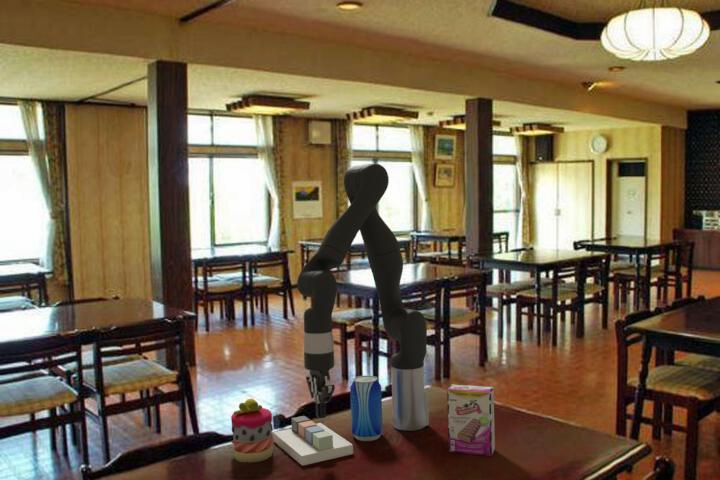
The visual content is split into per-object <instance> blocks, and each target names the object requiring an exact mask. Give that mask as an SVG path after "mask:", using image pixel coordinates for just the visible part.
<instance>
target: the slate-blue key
mask: <svg viewBox="0 0 720 480" xmlns="http://www.w3.org/2000/svg"><path fill="white" fill-rule="evenodd" d="M323 431H325V430H324V429H323V428H321V427H320V426H314V427H309V428H305V435H306V442H307V443H308V444H310V445H313V433H318V432H323Z"/></svg>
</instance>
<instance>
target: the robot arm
mask: <svg viewBox="0 0 720 480" xmlns="http://www.w3.org/2000/svg"><path fill="white" fill-rule="evenodd" d="M389 178H390V177H389V174H388V171H387V170H386V168H385V167H384V166H383V165H381V164H380V163H364V164H357V165H352V166H350V167H348V168H347V169H346V171H345V172H344V175H343V186H344V190H345V194H346V196H347V199H348V201H349V204H350V205H349V206H348V207H347V209H345V211H344V212H343V213H342V214H341V215H340V216H339V217H338V218H337V219H336V220H335V221H334V222H333V223H332V224H331V226H330V227H329V229H328V230H327V231H326V234H325V235H324V237H323V239H322V241H321V243H320V246H319V247H318V250H317V251H316V252H315V253H314V255H313V256H312V257H311V258H310V259H309V260H308V261H307V263H306V264H305V265H304V266H303V268H302V269H301V271H300V272H299V275H298V277H297V281H296V288H297V290H298V293H300V295H301V296H303V297H306V298H312V299H313V304H312V307H308V308H306V309H305V310H304V313H303V330H304V334H303V360H304V361H303V362H304V363H303V364H304V368H305V370H308V371H309V375H307V376H305V380H306V383H307V387H308V390H309V394H310V397H311V398H312V399H313V402H314V403H315V417H317V418H318V419H323V418H326V417H327V403H329V402H331V400H332V397H333V394H334V391H335V389H336V386H335V384H331V383H330V382H331V375H330V370H331V369H333V368H334V367H335V347H334V346H335V343H334V341H335V340H334V335H333V312H334V311H333V310H334V308H335V302H336V297H337V294H338V282H337V278H336V277H335V275H334V274H333V273H332V272H331V270H334V269H337V268H339V267H341V266H342V265H343V262H344V261H345V259H346V257H347V254H348V252H349V250H350V248H351V246H352V244H353V242H354V240H355V238H356V237H357V235H358V233H359V232H360V235H361V238H362V241H363V245H364V248H365V253H366V257H367V262H368V263H369V267H370V271H371V274H372V277H373V281H374V286H375V288H376V293H377V295H378V301H379V307H380V313H381V318H382V324H383V327H384V331H385V333H386V334H387V336H388V337H389V338H391V339H392V340H394V341H398V342H400V345H399V346H400V347H399V352H396V353H394V354H393V355H391V357H390V369H391V370H390V372H391V373H390V374H391V376H390V377H391V394H392V395H391V398H392V399H391V400H392V401H391V402H392V403H391V404H392V426H393V428H395V429H397V430H399V431H406V432H407V431H408V432H409V431H419V430H422V429H424V428H425V427H426V426H429V424H430V421H429V420H430V419H429V418H430V417H429V395H428V391H426V389H425V358H426V355H427V343H428V342H427V336H428V335H427V334H428V333H427V329H428V327H427V321H426V318H425V316H424V314H423V313H422V312H421V311H419V310H415V309H410V308H406V307H405V305H404V302H403V299H402V295H401V291H400V288H401V287H400V283H401V279H402V275H403V269H404V259H403V256H402V251H401V248H400V244H399V241H398V238H397V237H396V235H395V234H394V232H393V231H392V229H390V227H389V226H388V225H387V223H386V222H385V221H384V220H383V218H382V217H381V215H380V214H379V211H378V209H377V208H376V207H377V205H378V203H379V202H380V200H381V199H382V197H383V196H384V195H385V193H386V191H387V189H388V186H389V181H390V180H389Z"/></svg>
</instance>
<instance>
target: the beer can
mask: <svg viewBox="0 0 720 480" xmlns="http://www.w3.org/2000/svg"><path fill="white" fill-rule="evenodd" d="M352 381H353V382H352V383H351V385H350V387H349V388H350V389H349V390H350V391H349V392H350V417H351V418H350V419H351V420H350V421H351V433H352V435H353V436H354V438H355V439H356V440H358V441H361V442H372V441H376V440H378V439H379V438H381V435H382V434H383V431H384V430H383V429H384V428H383V426H384V425H383V403H382V402H383V401H382V385H381V383H380V382H379V380H378V377H377V376H374V375H359V376H355V377H354V378H353V379H352Z"/></svg>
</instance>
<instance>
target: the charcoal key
mask: <svg viewBox="0 0 720 480" xmlns="http://www.w3.org/2000/svg"><path fill="white" fill-rule="evenodd" d="M306 421H311V419H310V418H309V417H307V416H305V415H302V416H301V415H300V416H297V417H291V429H292V431H293V432H294V433H296V434H299V431H298V423H301V422H306Z"/></svg>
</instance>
